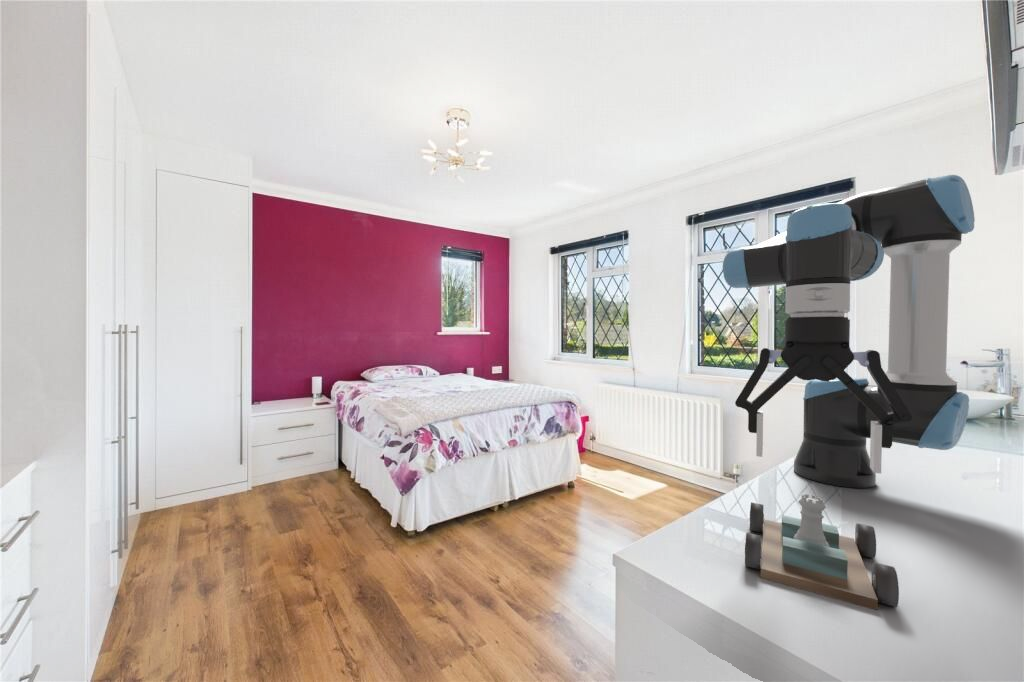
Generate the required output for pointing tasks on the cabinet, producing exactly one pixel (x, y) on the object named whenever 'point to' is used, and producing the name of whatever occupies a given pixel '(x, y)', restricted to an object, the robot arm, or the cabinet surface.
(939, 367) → the robot arm
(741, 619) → the cabinet surface
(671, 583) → the cabinet surface
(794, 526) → the chassis
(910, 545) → the cabinet surface
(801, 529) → the rook chess piece
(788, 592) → the cabinet surface
